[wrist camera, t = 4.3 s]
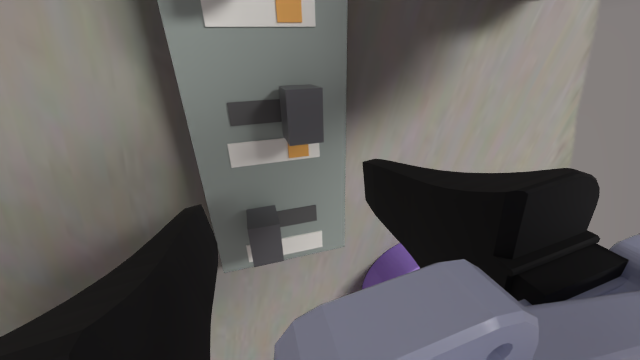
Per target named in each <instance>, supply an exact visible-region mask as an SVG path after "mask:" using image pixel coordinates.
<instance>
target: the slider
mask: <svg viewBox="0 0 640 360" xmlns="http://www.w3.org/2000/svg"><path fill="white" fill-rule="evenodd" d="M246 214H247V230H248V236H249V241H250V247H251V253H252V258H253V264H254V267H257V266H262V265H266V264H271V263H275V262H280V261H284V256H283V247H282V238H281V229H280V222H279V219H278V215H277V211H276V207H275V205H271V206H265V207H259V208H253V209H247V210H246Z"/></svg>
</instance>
